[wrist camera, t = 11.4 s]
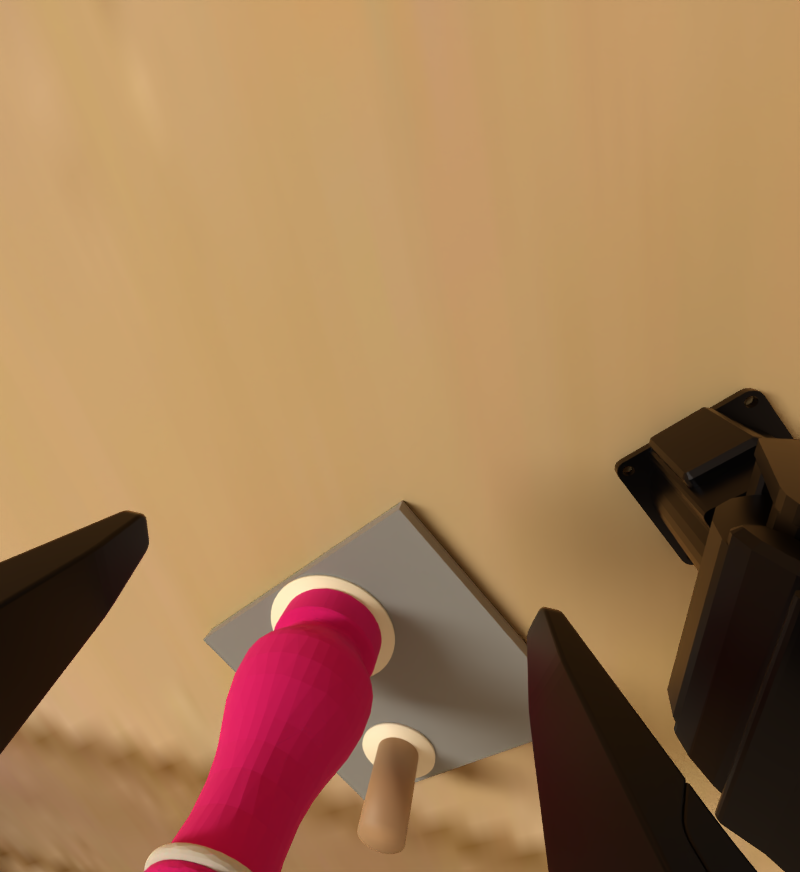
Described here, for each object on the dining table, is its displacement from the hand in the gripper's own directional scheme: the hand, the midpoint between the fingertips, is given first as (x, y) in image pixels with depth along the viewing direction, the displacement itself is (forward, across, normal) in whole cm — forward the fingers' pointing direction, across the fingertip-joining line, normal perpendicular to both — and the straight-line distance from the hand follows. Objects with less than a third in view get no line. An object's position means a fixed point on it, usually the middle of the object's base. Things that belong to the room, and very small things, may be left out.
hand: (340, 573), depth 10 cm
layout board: (+11, -3, +19) cm, 22 cm away
